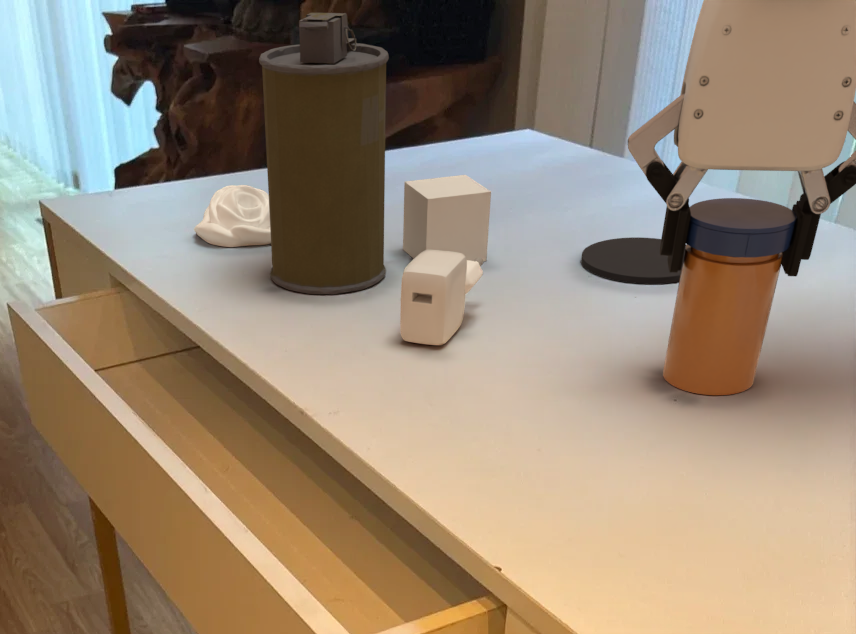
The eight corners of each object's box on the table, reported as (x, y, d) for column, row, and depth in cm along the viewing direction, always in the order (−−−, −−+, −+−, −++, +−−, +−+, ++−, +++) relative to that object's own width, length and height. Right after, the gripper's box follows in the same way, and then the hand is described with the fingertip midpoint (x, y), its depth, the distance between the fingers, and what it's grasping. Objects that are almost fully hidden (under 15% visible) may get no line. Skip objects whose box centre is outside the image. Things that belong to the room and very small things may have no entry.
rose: (236, 167, 113) (312, 180, 108) (239, 213, 116) (314, 228, 111) (169, 191, 107) (247, 206, 102) (174, 239, 110) (250, 256, 105)
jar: (746, 361, 84) (781, 211, 77) (759, 397, 79) (797, 241, 72) (659, 358, 85) (685, 210, 78) (666, 393, 80) (695, 239, 73)
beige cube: (425, 269, 101) (427, 199, 97) (402, 249, 106) (403, 181, 102) (486, 261, 103) (491, 191, 99) (461, 241, 107) (465, 174, 103)
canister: (366, 299, 96) (367, 28, 83) (253, 289, 98) (236, 24, 86) (400, 259, 103) (406, 5, 91) (294, 250, 106) (285, 3, 93)
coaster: (699, 245, 104) (700, 238, 104) (712, 285, 96) (714, 278, 96) (579, 242, 106) (580, 236, 105) (582, 282, 98) (583, 275, 97)
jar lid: (800, 258, 72) (807, 229, 71) (690, 257, 73) (696, 229, 72) (778, 225, 78) (785, 198, 77) (676, 225, 79) (681, 197, 77)
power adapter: (435, 296, 96) (438, 224, 92) (490, 303, 94) (495, 230, 91) (391, 343, 88) (392, 267, 84) (449, 351, 87) (454, 274, 83)
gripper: (938, -54, 67) (853, 254, 78) (639, -51, 69) (600, 247, 81) (971, -38, 61) (875, 291, 73) (644, -35, 64) (601, 282, 75)
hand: (730, 265), depth 77 cm, fingers closed on jar lid, 7 cm apart
